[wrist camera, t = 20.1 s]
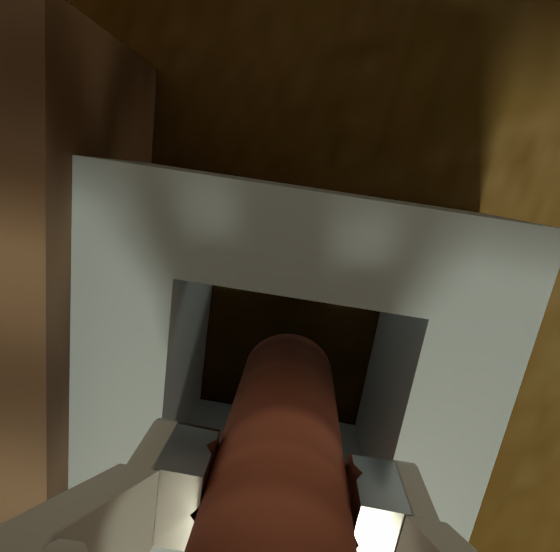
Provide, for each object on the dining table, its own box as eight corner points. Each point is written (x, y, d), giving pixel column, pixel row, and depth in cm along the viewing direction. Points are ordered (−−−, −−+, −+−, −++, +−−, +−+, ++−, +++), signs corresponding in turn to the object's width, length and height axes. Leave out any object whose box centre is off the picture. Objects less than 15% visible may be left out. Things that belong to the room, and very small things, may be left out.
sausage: (250, 326, 13) (144, 610, 4) (339, 341, 13) (408, 660, 4) (239, 405, 14) (128, 784, 5) (323, 419, 14) (354, 827, 5)
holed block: (151, 163, 14) (72, 154, 9) (479, 212, 14) (571, 230, 9) (134, 442, 17) (67, 545, 12) (404, 489, 17) (444, 613, 12)
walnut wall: (72, 56, 14) (-101, -36, 8) (157, 68, 14) (44, -16, 8) (67, 484, 18) (-47, 629, 12) (131, 495, 18) (46, 646, 12)
